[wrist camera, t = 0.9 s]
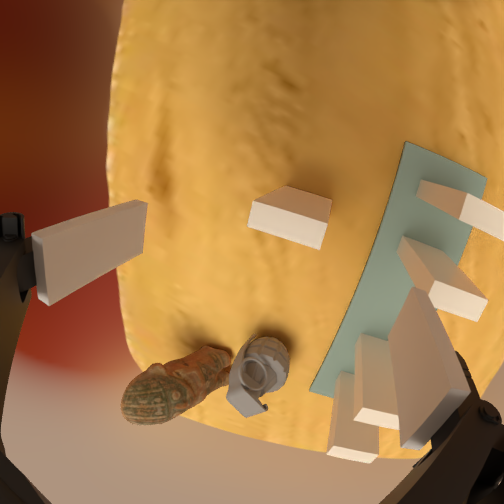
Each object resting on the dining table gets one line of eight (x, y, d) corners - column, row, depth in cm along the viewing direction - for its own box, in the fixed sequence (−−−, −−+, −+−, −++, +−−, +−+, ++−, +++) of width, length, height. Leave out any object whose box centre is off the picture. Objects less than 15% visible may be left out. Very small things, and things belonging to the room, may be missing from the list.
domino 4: (420, 179, 26) (467, 192, 15) (461, 197, 25) (520, 220, 14) (415, 196, 26) (458, 219, 15) (456, 213, 26) (511, 245, 15)
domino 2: (341, 370, 34) (333, 445, 23) (376, 380, 33) (378, 454, 22) (335, 380, 35) (326, 454, 24) (370, 390, 34) (370, 463, 23)
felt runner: (405, 141, 26) (406, 141, 25) (484, 177, 24) (487, 178, 23) (309, 388, 37) (309, 391, 37) (375, 406, 35) (375, 409, 35)
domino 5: (402, 235, 28) (434, 280, 17) (442, 250, 27) (488, 300, 16) (396, 251, 29) (423, 303, 18) (436, 266, 28) (477, 322, 17)
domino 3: (360, 332, 32) (362, 407, 21) (398, 344, 31) (411, 418, 20) (354, 345, 33) (353, 420, 22) (391, 355, 32) (401, 430, 21)
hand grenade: (304, 352, 36) (287, 416, 26) (268, 370, 38) (243, 430, 28) (273, 314, 35) (245, 371, 25) (237, 334, 38) (202, 390, 27)
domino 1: (285, 185, 31) (253, 200, 20) (332, 199, 30) (327, 223, 19) (281, 201, 31) (246, 226, 20) (327, 216, 30) (319, 249, 19)
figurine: (237, 377, 40) (193, 458, 26) (185, 369, 42) (132, 437, 28) (230, 327, 38) (174, 407, 24) (174, 320, 40) (107, 386, 26)
